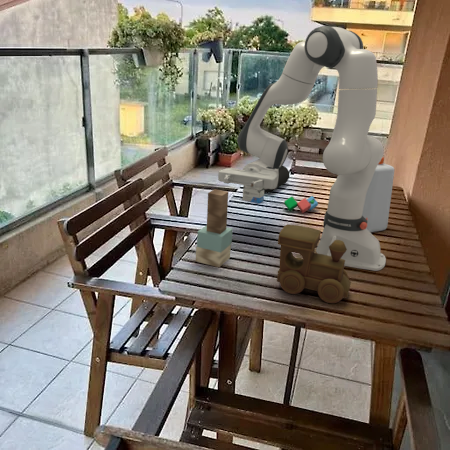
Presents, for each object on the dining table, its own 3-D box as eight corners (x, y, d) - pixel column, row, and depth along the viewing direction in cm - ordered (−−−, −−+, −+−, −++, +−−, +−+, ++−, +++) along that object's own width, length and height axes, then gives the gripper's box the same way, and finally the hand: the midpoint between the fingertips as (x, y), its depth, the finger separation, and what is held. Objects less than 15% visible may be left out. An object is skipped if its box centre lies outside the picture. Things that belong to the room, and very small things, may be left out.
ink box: (263, 201, 199) (266, 176, 195) (258, 204, 195) (261, 178, 191) (247, 197, 203) (249, 172, 199) (241, 199, 199) (243, 174, 195)
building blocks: (295, 221, 191) (318, 205, 192) (295, 215, 184) (318, 199, 184) (284, 207, 194) (307, 191, 194) (283, 201, 186) (307, 184, 186)
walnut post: (226, 229, 136) (228, 191, 132) (220, 234, 132) (222, 195, 128) (213, 226, 138) (214, 189, 133) (206, 231, 134) (208, 193, 129)
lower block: (229, 258, 141) (231, 243, 139) (219, 267, 134) (220, 252, 132) (207, 252, 144) (208, 238, 142) (195, 261, 137) (196, 246, 135)
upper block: (231, 243, 139) (232, 228, 137) (220, 252, 132) (221, 236, 130) (208, 238, 142) (209, 223, 140) (196, 246, 135) (197, 231, 133)
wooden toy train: (270, 291, 122) (277, 235, 116) (281, 274, 132) (287, 221, 126) (344, 309, 116) (355, 250, 110) (349, 290, 126) (359, 235, 120)
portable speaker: (271, 181, 234) (273, 162, 230) (289, 184, 230) (292, 165, 226) (253, 192, 212) (255, 172, 208) (273, 196, 208) (275, 175, 205)
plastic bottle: (335, 221, 180) (346, 152, 170) (363, 217, 187) (375, 151, 177) (362, 235, 168) (376, 161, 158) (391, 230, 174) (406, 160, 165)
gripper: (227, 162, 158) (210, 169, 146) (283, 169, 150) (269, 177, 138) (227, 179, 160) (209, 187, 148) (281, 187, 152) (267, 197, 140)
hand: (239, 183), depth 143 cm, fingers open, 8 cm apart
